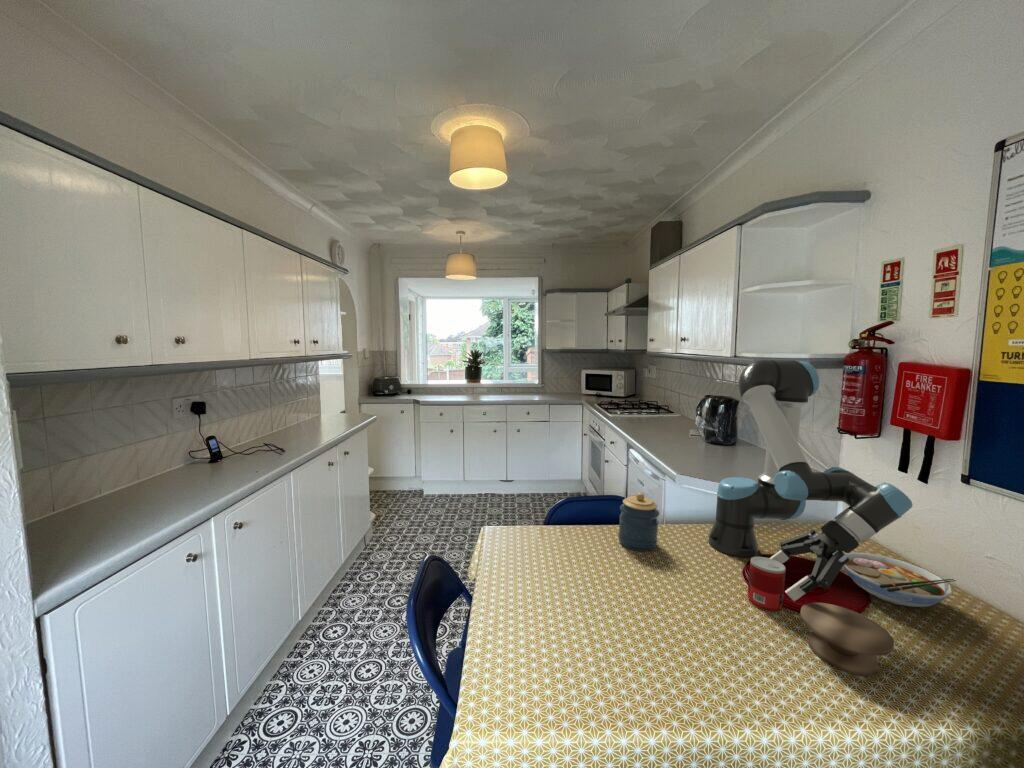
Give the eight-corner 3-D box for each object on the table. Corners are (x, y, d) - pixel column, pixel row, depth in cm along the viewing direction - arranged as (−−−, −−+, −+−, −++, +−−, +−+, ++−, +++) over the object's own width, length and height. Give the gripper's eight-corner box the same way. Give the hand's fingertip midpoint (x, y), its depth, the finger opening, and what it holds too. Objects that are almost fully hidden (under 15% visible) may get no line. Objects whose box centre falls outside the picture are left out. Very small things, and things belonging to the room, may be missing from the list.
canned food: (787, 614, 105) (791, 573, 105) (753, 609, 107) (756, 568, 106) (774, 597, 113) (778, 558, 112) (743, 592, 115) (746, 554, 114)
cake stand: (795, 657, 90) (798, 627, 90) (800, 621, 103) (802, 594, 102) (894, 697, 80) (898, 663, 80) (886, 651, 93) (889, 622, 92)
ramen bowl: (880, 572, 129) (883, 547, 128) (976, 619, 106) (980, 588, 106) (814, 578, 123) (817, 552, 123) (901, 629, 101) (905, 597, 100)
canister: (625, 531, 152) (628, 484, 150) (662, 542, 144) (665, 492, 143) (612, 544, 141) (615, 493, 140) (650, 556, 133) (653, 503, 132)
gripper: (893, 567, 92) (813, 622, 95) (828, 523, 116) (766, 568, 120) (868, 542, 92) (789, 597, 96) (809, 503, 117) (748, 548, 120)
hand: (776, 581), depth 108 cm, fingers open, 13 cm apart
